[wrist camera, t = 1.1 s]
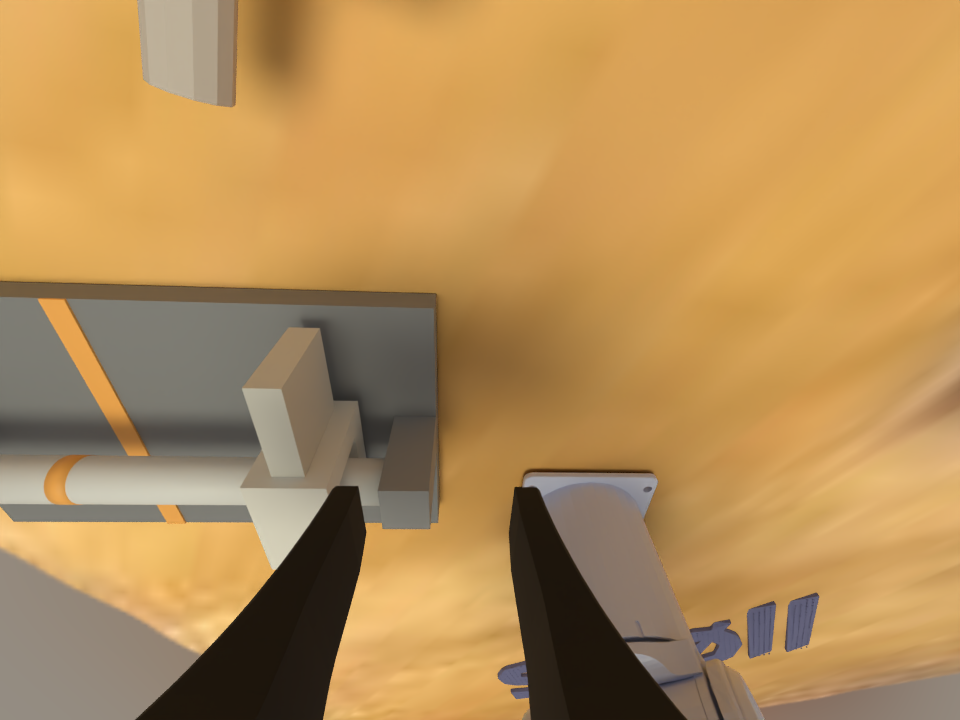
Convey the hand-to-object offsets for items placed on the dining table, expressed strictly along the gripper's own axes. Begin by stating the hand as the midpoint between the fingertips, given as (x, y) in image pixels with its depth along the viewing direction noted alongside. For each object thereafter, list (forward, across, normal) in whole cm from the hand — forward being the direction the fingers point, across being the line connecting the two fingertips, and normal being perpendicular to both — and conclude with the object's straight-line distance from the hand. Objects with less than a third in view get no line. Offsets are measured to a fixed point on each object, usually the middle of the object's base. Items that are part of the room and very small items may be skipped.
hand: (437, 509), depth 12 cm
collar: (+7, +6, +3) cm, 10 cm away
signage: (+10, -18, +32) cm, 38 cm away
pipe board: (+9, +13, +4) cm, 16 cm away
